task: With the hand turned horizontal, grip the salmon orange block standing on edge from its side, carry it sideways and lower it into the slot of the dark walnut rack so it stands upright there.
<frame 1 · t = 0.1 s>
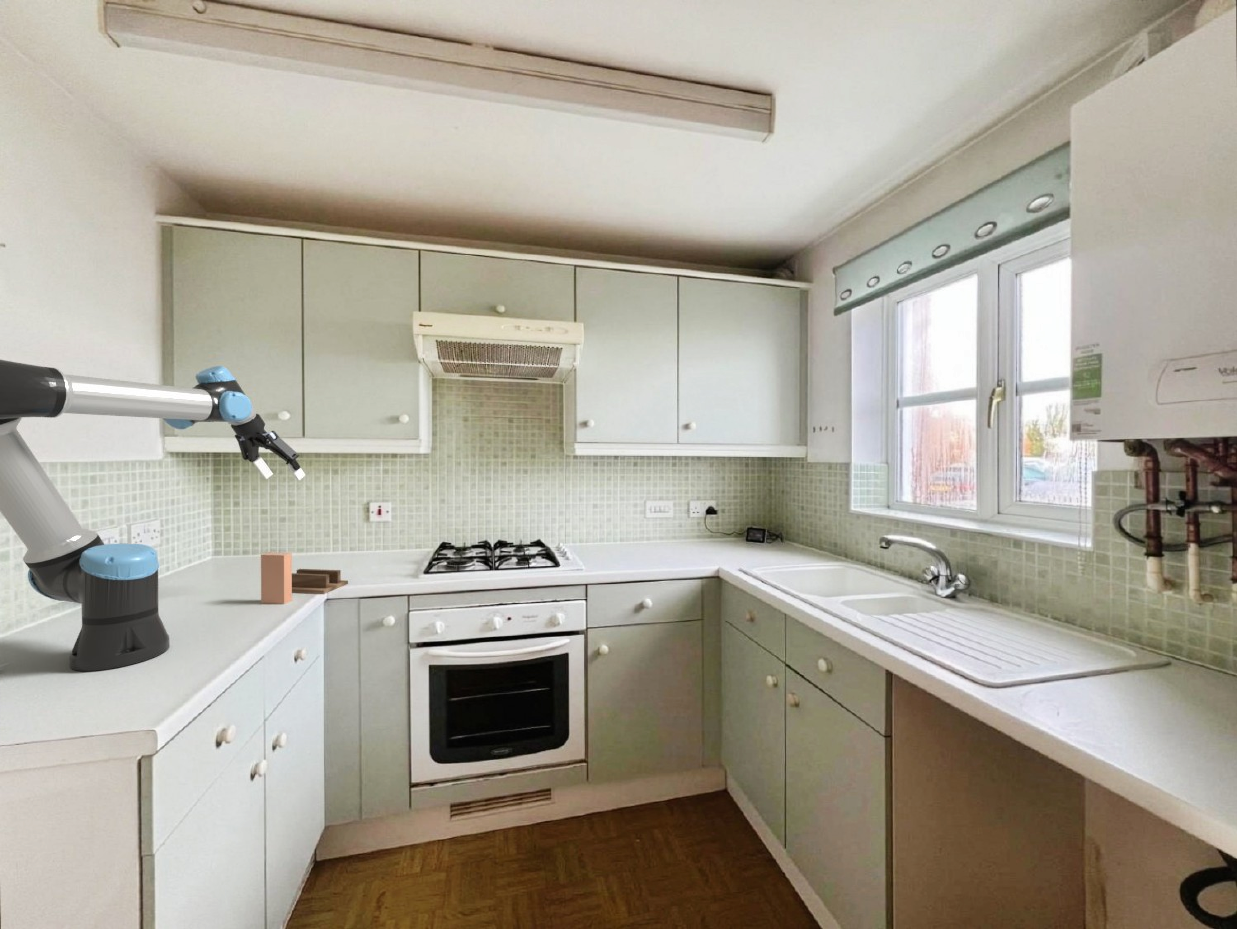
hand: (285, 477, 156), 35 cm above the counter, tool tilted 35°, fingers open, 13 cm apart
salmon orange block: (276, 602, 145), on the counter
slot rack: (312, 587, 160), on the counter
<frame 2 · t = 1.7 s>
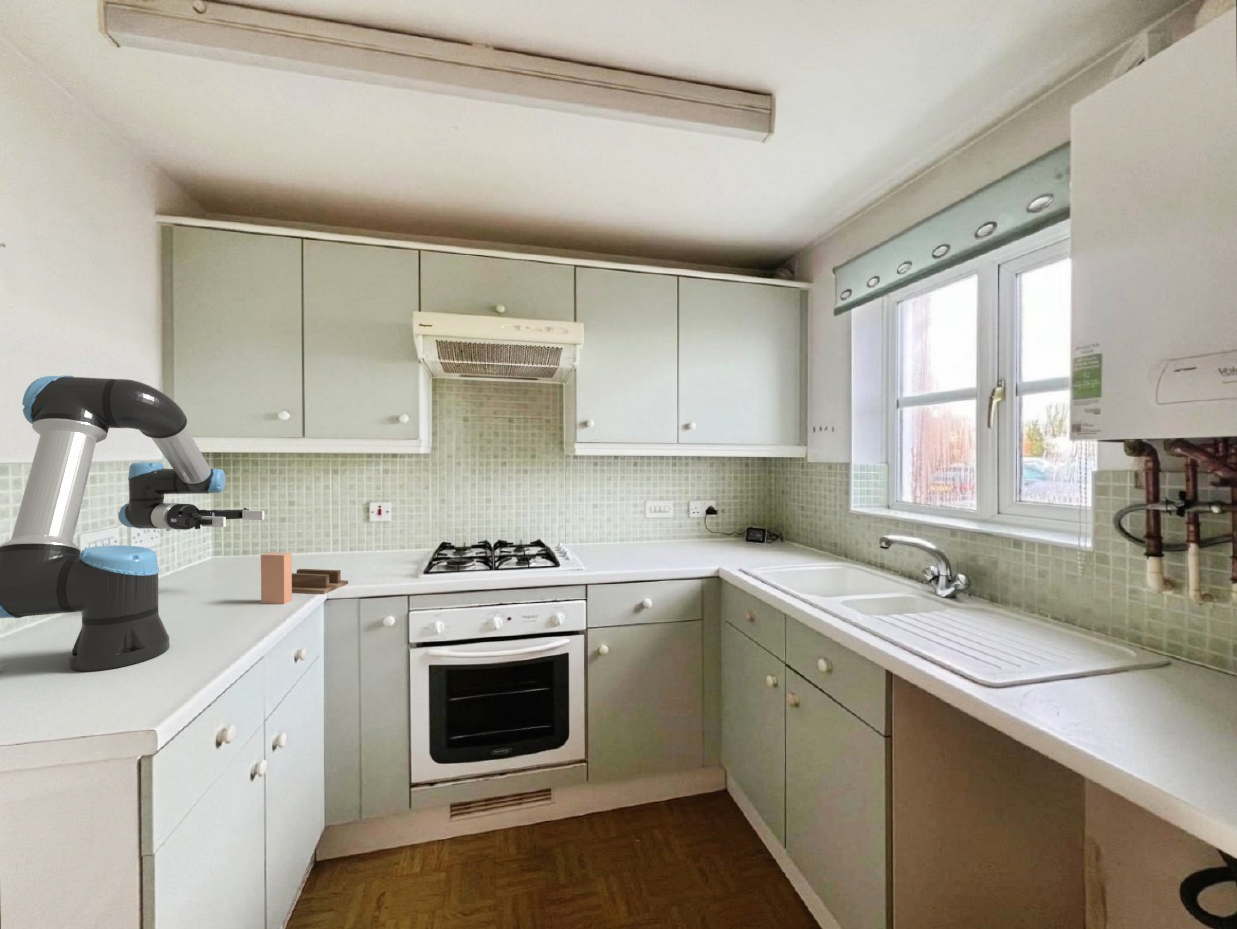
hand: (245, 518, 145), 24 cm above the counter, tool horizontal, fingers open, 13 cm apart
nothing on the counter moved.
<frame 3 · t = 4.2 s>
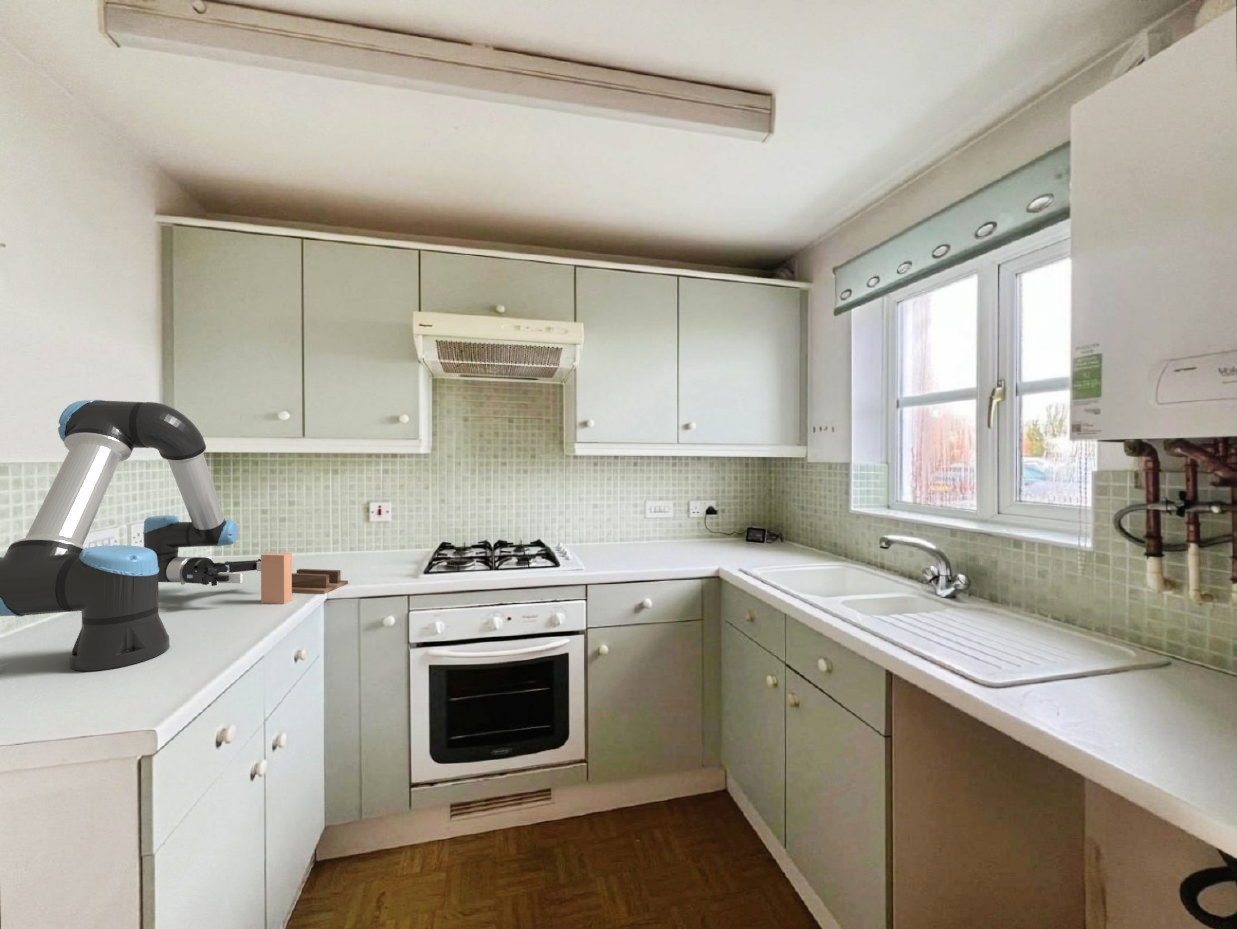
hand: (260, 572, 146), 8 cm above the counter, tool horizontal, fingers open, 13 cm apart
nothing on the counter moved.
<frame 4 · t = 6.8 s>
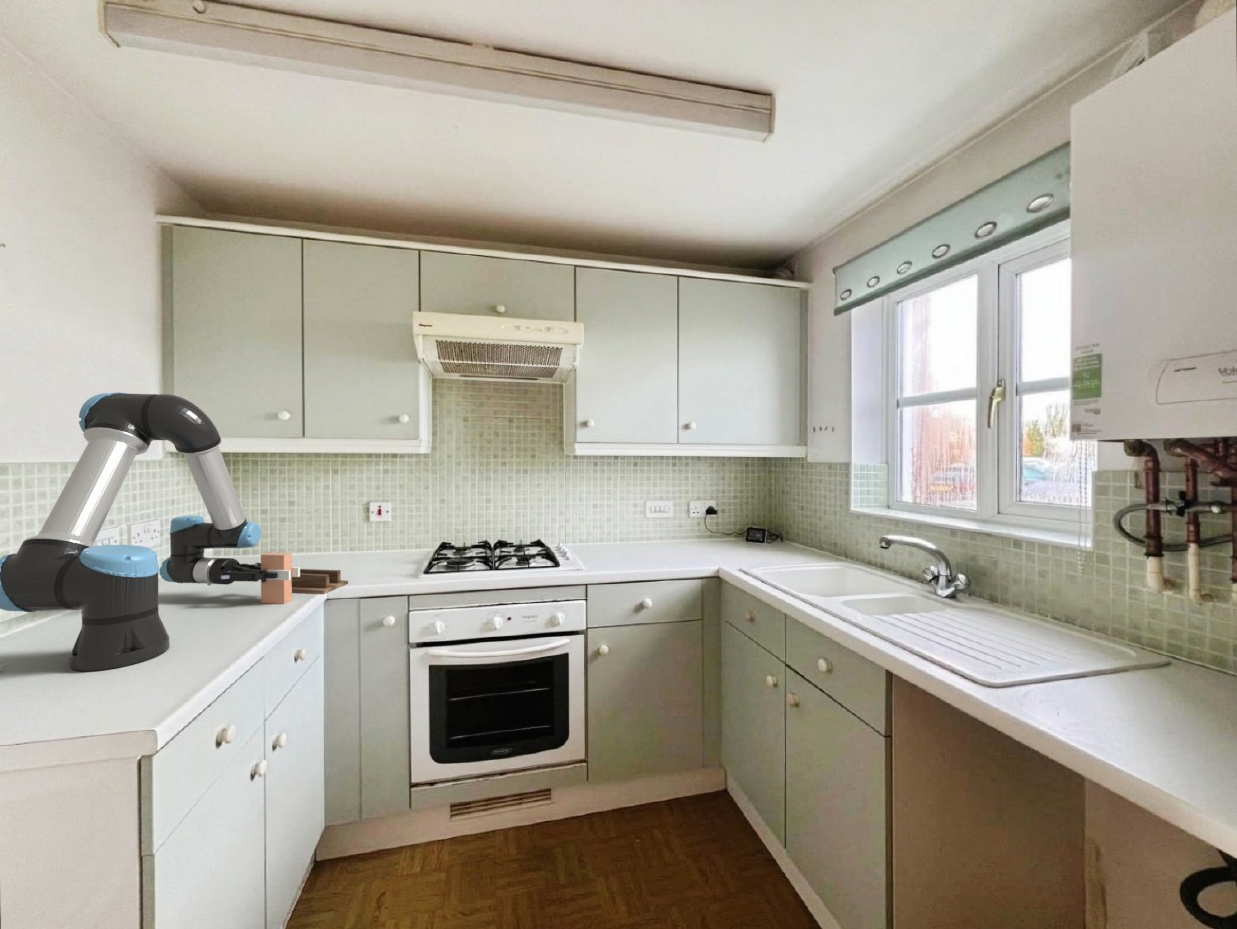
hand: (294, 573, 145), 8 cm above the counter, tool horizontal, fingers closed on salmon orange block, 3 cm apart
salmon orange block: (276, 601, 145), on the counter, touching gripper
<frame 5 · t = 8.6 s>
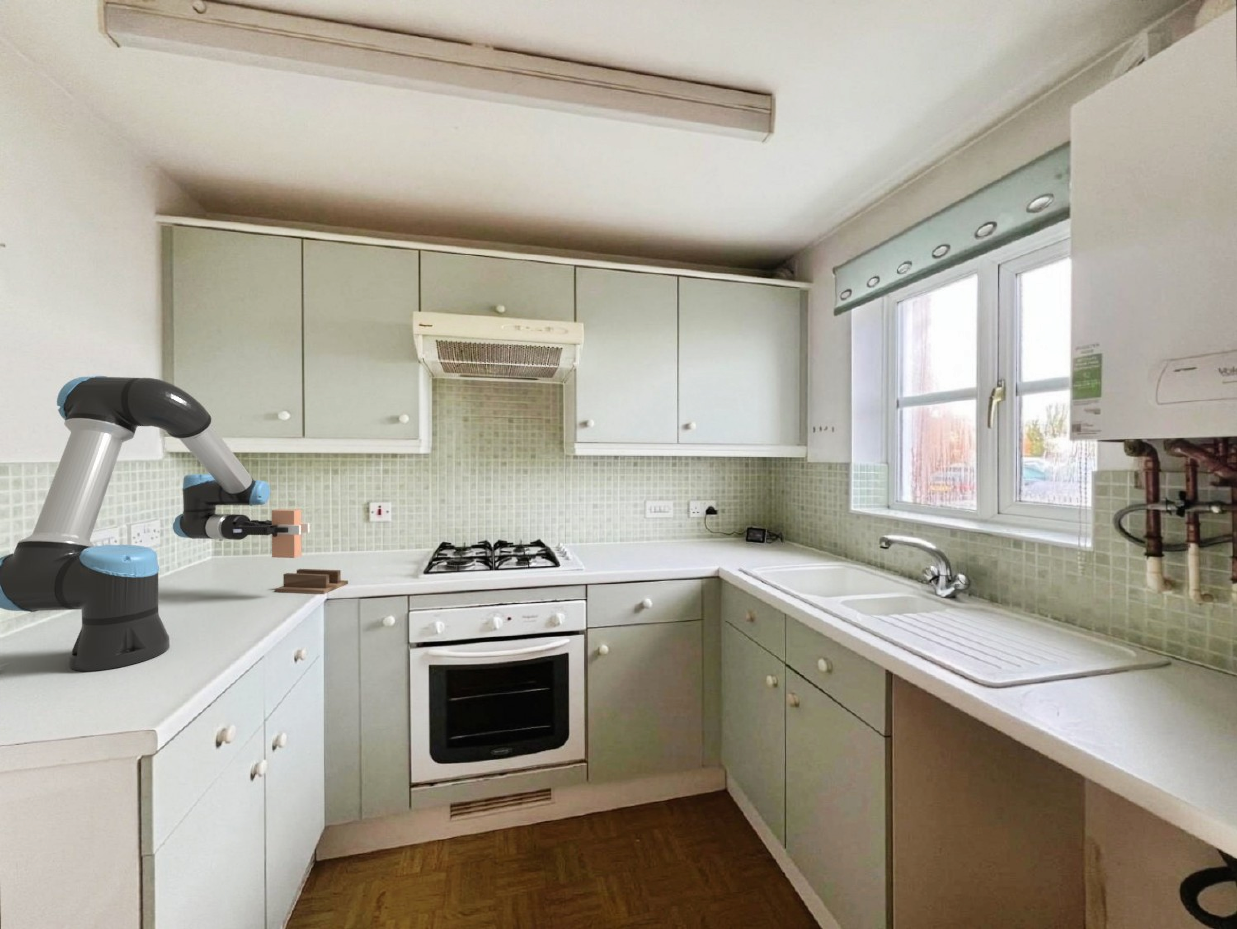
hand: (304, 528, 149), 21 cm above the counter, tool horizontal, fingers closed on salmon orange block, 3 cm apart
salmon orange block: (286, 556, 149), point 12 cm above the counter, touching gripper
when the fingers open (11 cm above the counter, at t = 10.9 s): salmon orange block drops 2 cm, resting on slot rack.
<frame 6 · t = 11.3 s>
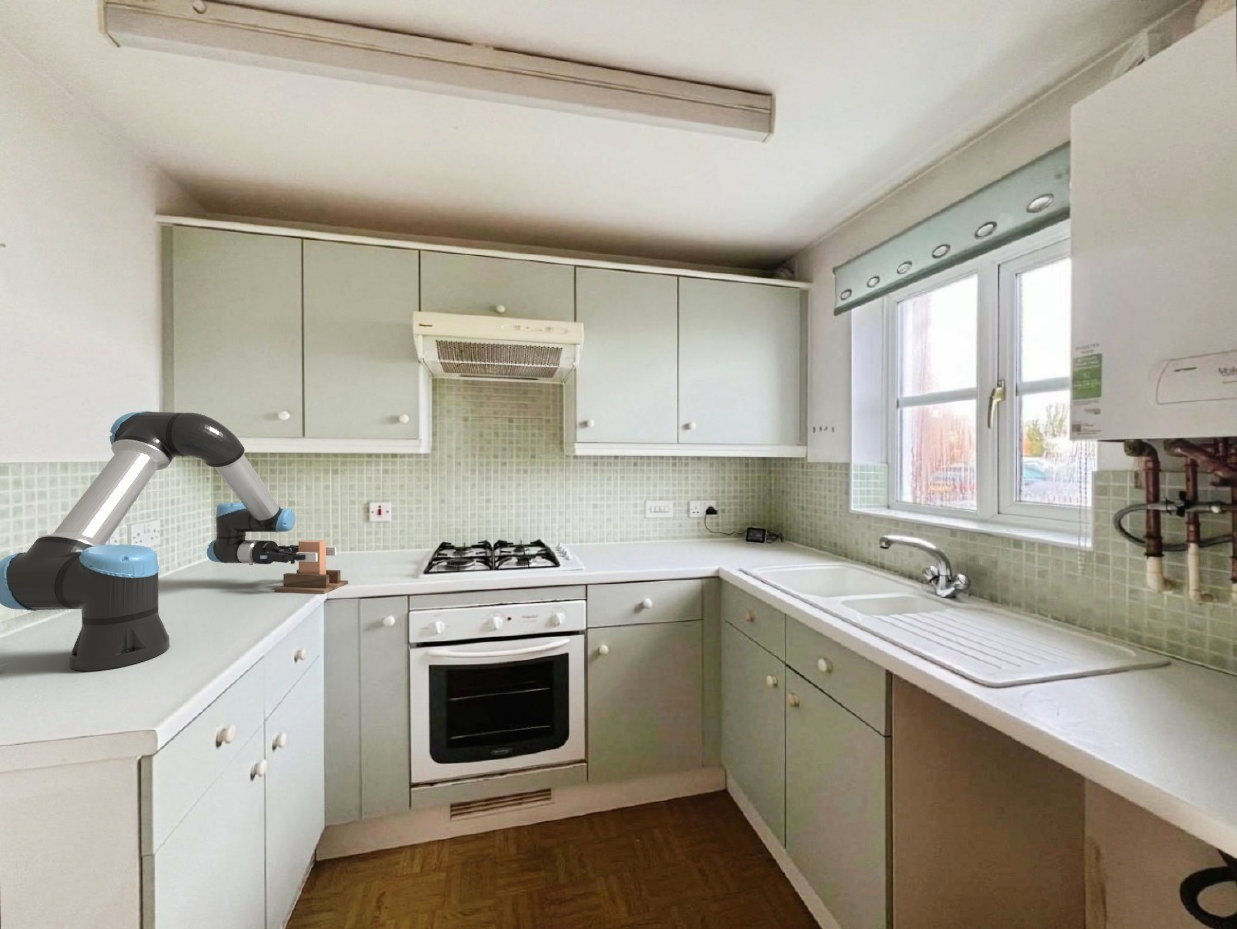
hand: (326, 554, 160), 11 cm above the counter, tool horizontal, fingers open, 8 cm apart
salmon orange block: (312, 584, 160), point 1 cm above the counter, touching slot rack
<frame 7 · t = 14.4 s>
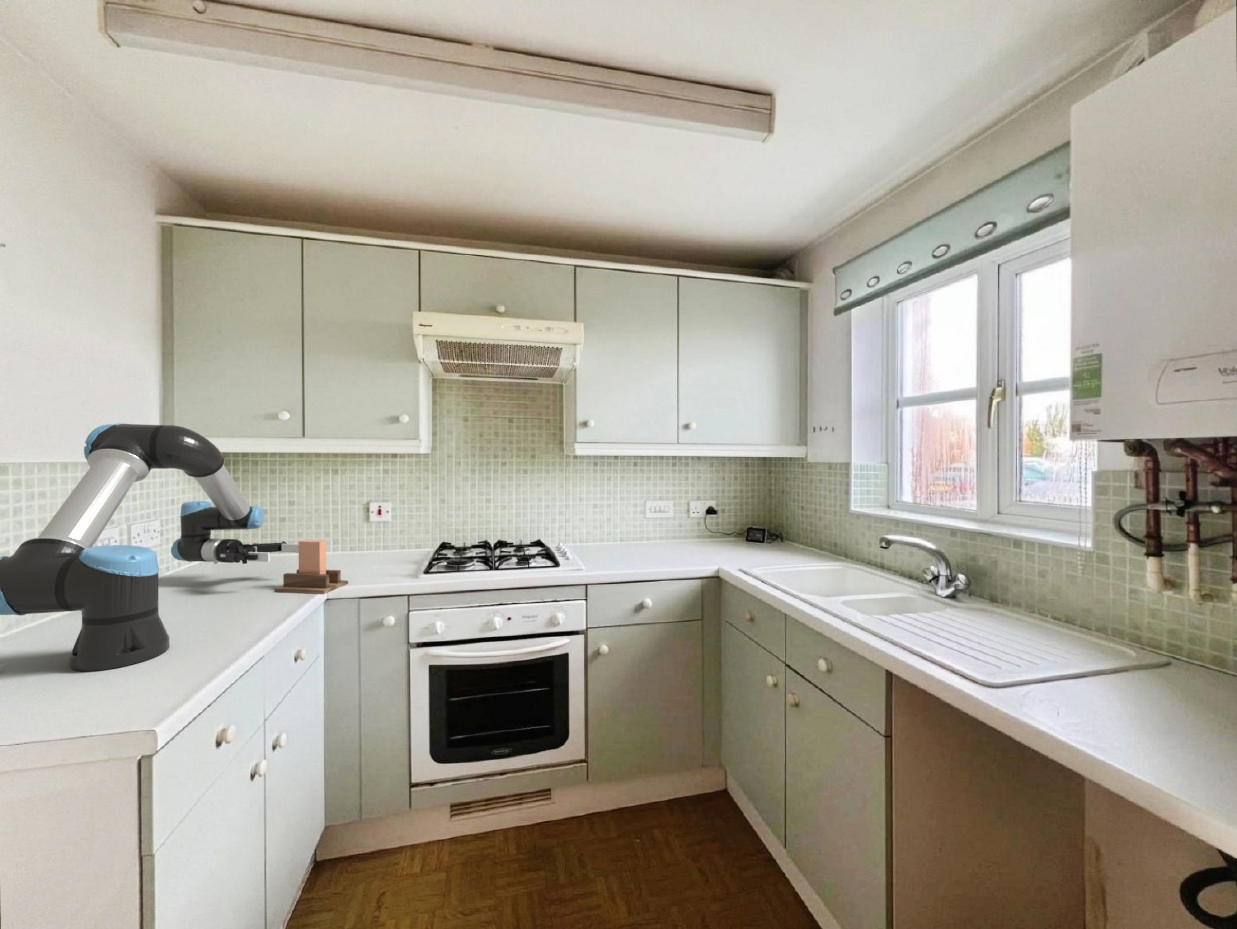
hand: (285, 552, 161), 11 cm above the counter, tool horizontal, fingers open, 13 cm apart
nothing on the counter moved.
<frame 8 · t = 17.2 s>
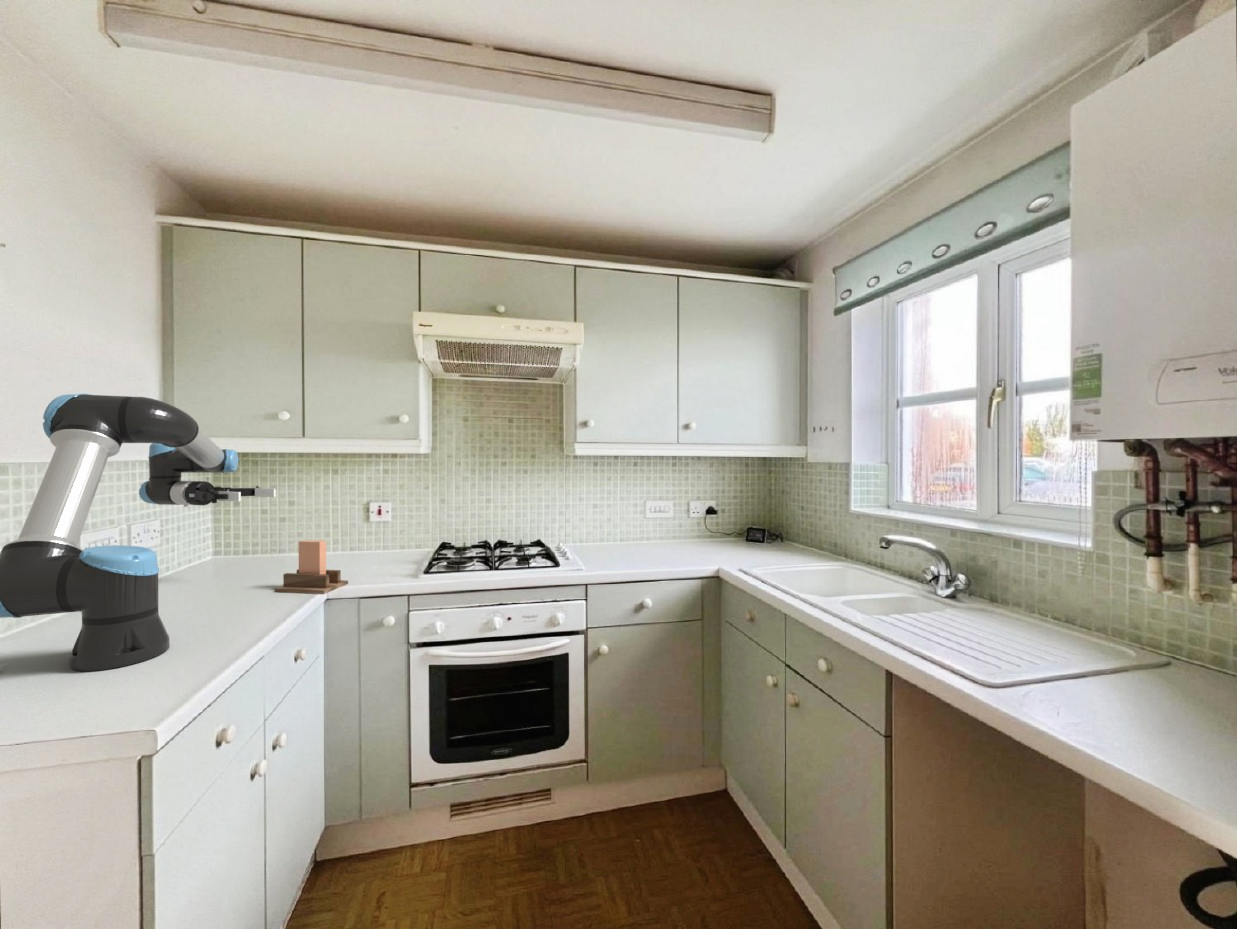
hand: (258, 494, 155), 30 cm above the counter, tool horizontal, fingers open, 13 cm apart
nothing on the counter moved.
at the end: salmon orange block inside the target area on the slot rack (0.0 cm from its centre), point 1.0 cm above the slot rack's base; salmon orange block tilted 0°; the gripper is holding nothing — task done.
